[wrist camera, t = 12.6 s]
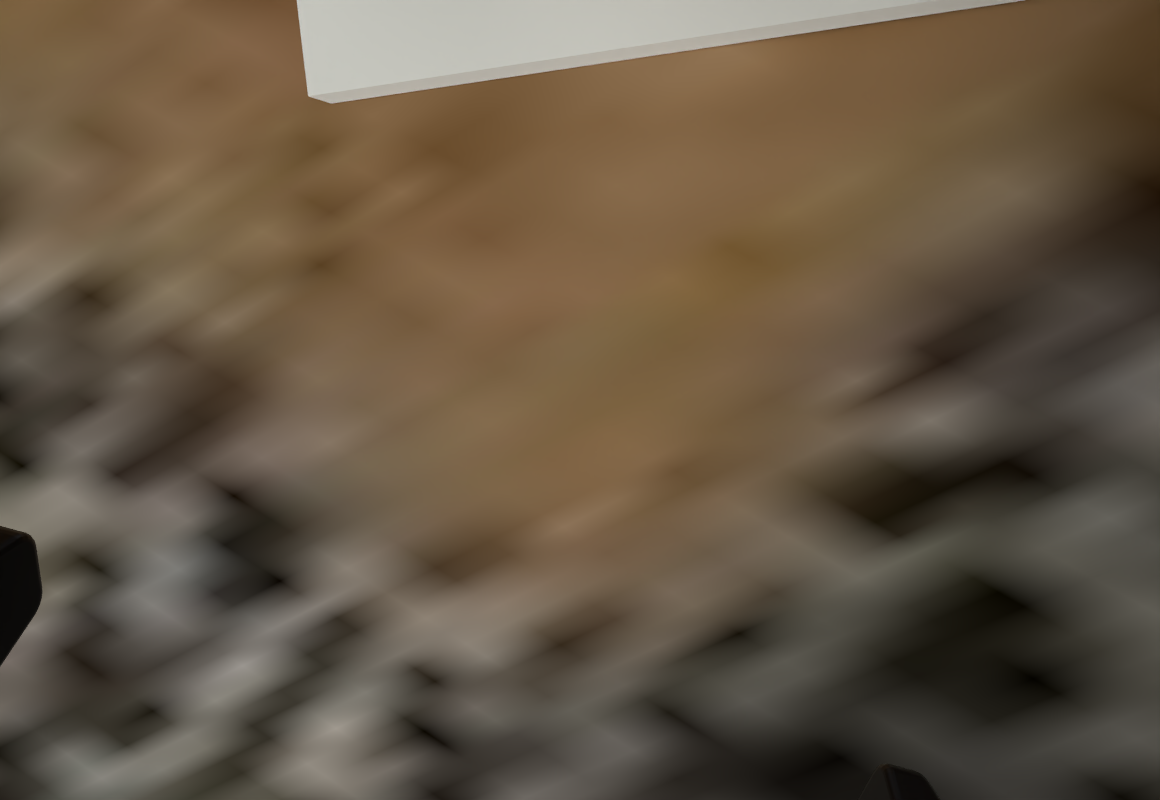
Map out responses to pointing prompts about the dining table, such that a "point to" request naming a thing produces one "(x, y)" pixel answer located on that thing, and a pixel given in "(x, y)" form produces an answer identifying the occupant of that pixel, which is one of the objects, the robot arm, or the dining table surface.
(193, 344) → the dining table surface
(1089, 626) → the dining table surface
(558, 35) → the board
